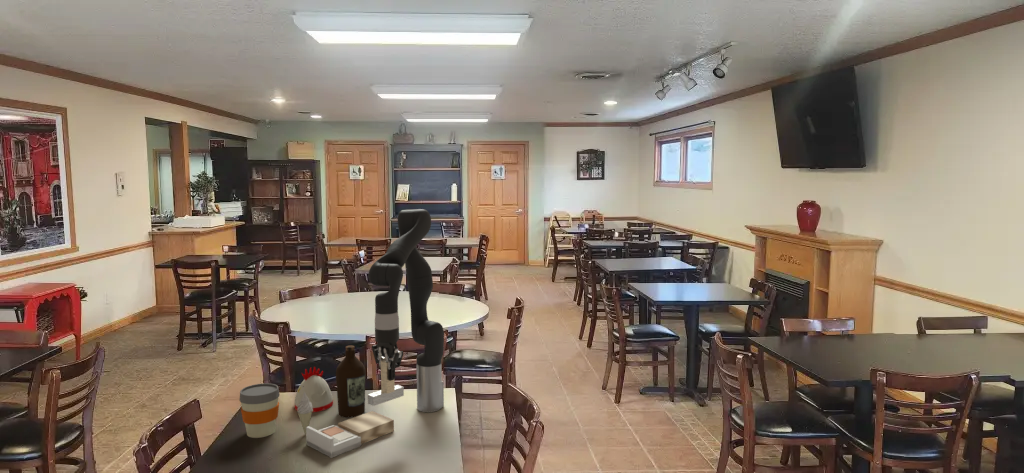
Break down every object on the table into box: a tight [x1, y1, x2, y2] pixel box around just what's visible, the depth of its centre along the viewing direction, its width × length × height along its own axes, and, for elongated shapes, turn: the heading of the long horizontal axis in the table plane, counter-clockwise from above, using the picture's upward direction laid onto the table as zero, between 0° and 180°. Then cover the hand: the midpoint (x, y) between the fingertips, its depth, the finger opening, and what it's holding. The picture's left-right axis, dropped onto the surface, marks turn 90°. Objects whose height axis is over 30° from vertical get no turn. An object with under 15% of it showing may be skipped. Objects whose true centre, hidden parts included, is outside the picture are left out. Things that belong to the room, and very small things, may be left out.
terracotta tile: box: [322, 427, 344, 437], centre depth 200 cm, size 5×5×2 cm
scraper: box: [367, 360, 405, 407], centre depth 195 cm, size 4×12×13 cm, turn 140°
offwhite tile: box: [331, 431, 354, 444], centre depth 196 cm, size 5×5×2 cm
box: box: [305, 424, 362, 459], centre depth 197 cm, size 11×14×6 cm
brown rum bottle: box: [335, 345, 367, 419], centre depth 223 cm, size 11×11×25 cm
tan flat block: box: [337, 410, 395, 445], centre depth 206 cm, size 14×12×4 cm
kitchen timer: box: [294, 366, 334, 413], centre depth 230 cm, size 14×14×15 cm
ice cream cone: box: [296, 391, 313, 435], centre depth 205 cm, size 5×5×15 cm
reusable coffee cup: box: [238, 382, 281, 439], centre depth 206 cm, size 12×13×15 cm
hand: (387, 378), depth 195 cm, fingers closed on scraper, 3 cm apart
